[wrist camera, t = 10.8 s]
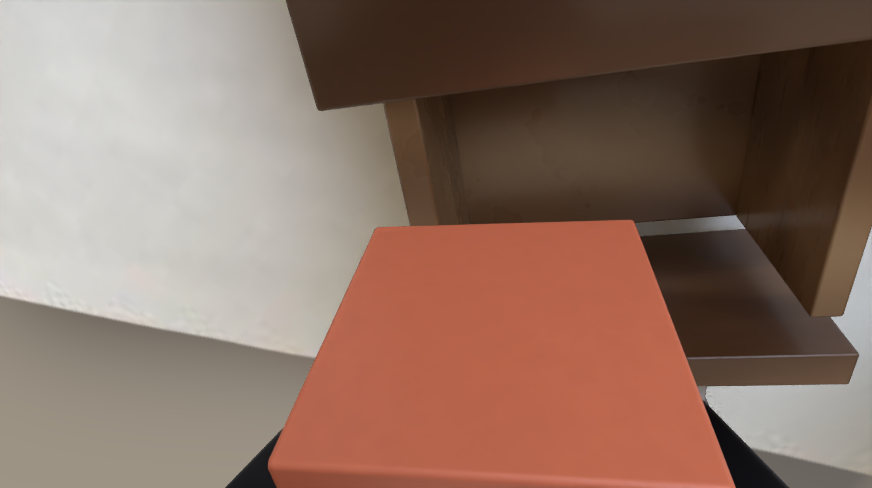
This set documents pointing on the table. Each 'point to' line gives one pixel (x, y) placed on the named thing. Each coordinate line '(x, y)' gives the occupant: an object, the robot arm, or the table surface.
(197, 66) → the table surface
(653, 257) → the drawer
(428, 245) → the orange-red cube
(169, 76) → the table surface
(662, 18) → the cabinet
